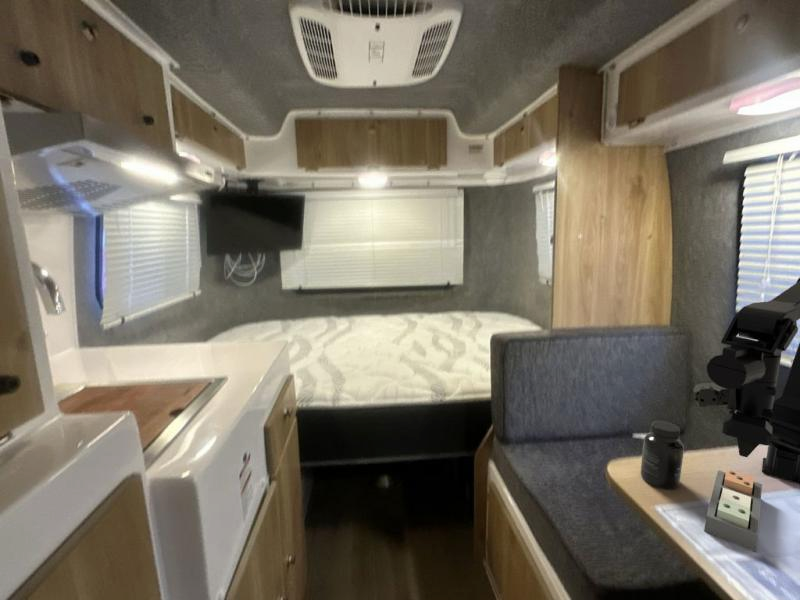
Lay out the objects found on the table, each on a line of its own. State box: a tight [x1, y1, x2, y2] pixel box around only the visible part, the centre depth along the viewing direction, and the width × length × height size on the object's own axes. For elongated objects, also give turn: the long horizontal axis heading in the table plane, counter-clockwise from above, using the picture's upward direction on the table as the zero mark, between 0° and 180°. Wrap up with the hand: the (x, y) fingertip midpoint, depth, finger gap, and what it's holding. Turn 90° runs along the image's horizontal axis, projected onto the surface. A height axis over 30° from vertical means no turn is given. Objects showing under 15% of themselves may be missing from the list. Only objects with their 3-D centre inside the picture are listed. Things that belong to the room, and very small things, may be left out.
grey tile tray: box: [704, 470, 763, 552], centre depth 73 cm, size 17×7×3 cm, turn 137°
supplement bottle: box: [640, 420, 685, 490], centre depth 82 cm, size 7×7×12 cm
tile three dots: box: [724, 468, 755, 495], centre depth 76 cm, size 4×4×3 cm
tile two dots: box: [717, 498, 750, 529], centre depth 68 cm, size 4×4×3 cm
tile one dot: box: [721, 488, 751, 508], centre depth 73 cm, size 4×4×3 cm
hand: (743, 455), depth 75 cm, fingers closed
